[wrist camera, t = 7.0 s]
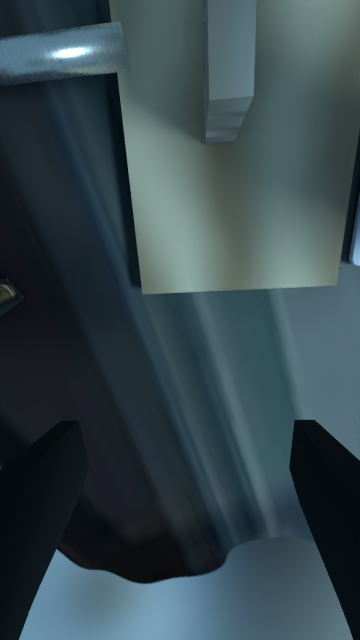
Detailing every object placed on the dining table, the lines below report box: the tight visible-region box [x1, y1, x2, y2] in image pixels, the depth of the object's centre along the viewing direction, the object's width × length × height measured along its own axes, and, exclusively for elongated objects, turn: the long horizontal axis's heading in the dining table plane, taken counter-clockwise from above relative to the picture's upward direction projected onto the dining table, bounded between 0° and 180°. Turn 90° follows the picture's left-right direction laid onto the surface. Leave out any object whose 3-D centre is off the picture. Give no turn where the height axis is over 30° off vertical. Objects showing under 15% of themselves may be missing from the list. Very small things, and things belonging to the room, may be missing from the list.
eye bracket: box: [109, 0, 360, 294], centre depth 10 cm, size 12×22×6 cm, turn 4°
